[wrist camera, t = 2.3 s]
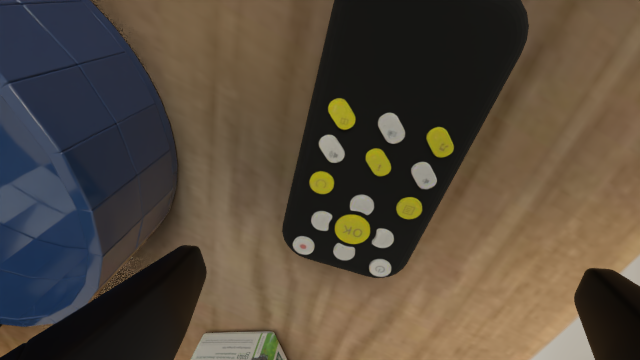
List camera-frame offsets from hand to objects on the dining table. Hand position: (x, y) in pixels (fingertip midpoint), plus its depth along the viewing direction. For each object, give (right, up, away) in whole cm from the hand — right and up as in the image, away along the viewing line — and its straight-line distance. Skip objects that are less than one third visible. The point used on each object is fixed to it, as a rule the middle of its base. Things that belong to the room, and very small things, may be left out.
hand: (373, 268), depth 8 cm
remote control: (+1, +4, +6) cm, 8 cm away
